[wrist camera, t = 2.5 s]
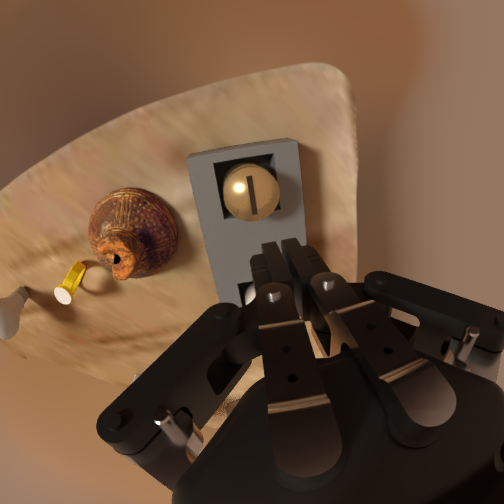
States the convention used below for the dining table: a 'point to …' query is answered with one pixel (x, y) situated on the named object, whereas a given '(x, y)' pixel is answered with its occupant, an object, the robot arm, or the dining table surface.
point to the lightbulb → (11, 312)
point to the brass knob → (250, 191)
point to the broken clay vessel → (132, 233)
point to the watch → (70, 283)
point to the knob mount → (238, 231)
